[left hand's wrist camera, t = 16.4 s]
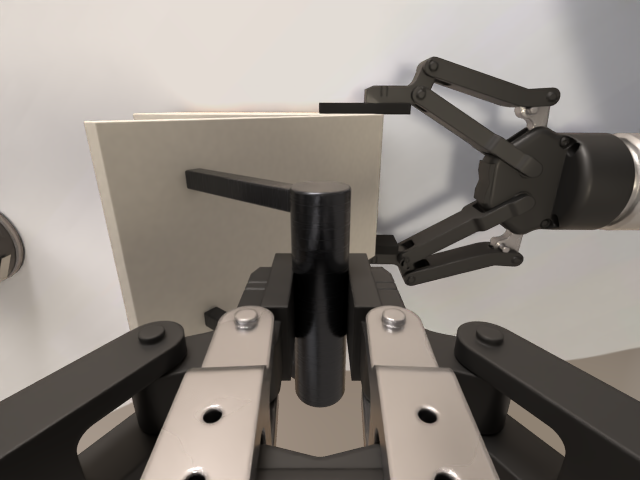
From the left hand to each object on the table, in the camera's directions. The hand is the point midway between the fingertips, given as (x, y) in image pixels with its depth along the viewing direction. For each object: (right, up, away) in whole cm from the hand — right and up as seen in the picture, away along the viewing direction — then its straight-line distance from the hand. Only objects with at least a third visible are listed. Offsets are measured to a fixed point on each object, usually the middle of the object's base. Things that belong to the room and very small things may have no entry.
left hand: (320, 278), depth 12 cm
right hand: (0, +6, +16) cm, 17 cm away
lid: (-2, +3, +7) cm, 8 cm away
